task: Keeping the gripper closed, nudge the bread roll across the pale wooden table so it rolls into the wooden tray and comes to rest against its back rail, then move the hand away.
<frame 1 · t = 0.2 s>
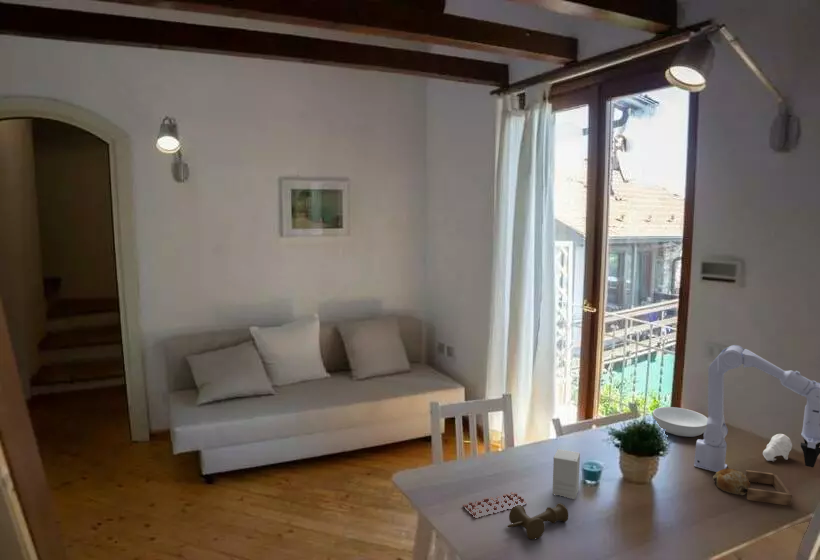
hand: (810, 462, 179), 10 cm above the table, tool pointing down, fingers open, 7 cm apart
bread roll: (730, 488, 182), on the table
supplement box: (565, 492, 178), on the table
kendama: (536, 528, 158), on the table
white lumpy piece: (774, 459, 204), on the table
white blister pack: (495, 508, 170), on the table
wooden tray: (761, 491, 180), on the table
serving bowl: (679, 432, 227), on the table
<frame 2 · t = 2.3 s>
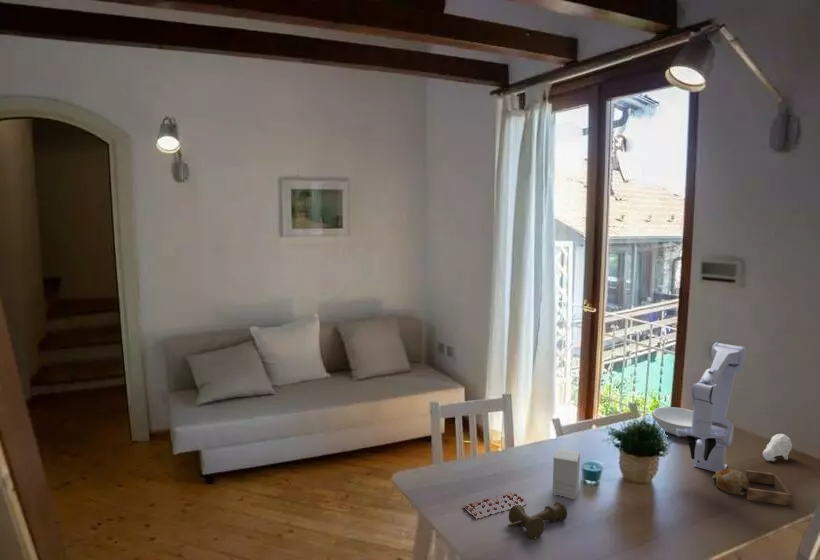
hand: (698, 458, 184), 8 cm above the table, tool pointing down, fingers open, 3 cm apart
nothing on the table moved.
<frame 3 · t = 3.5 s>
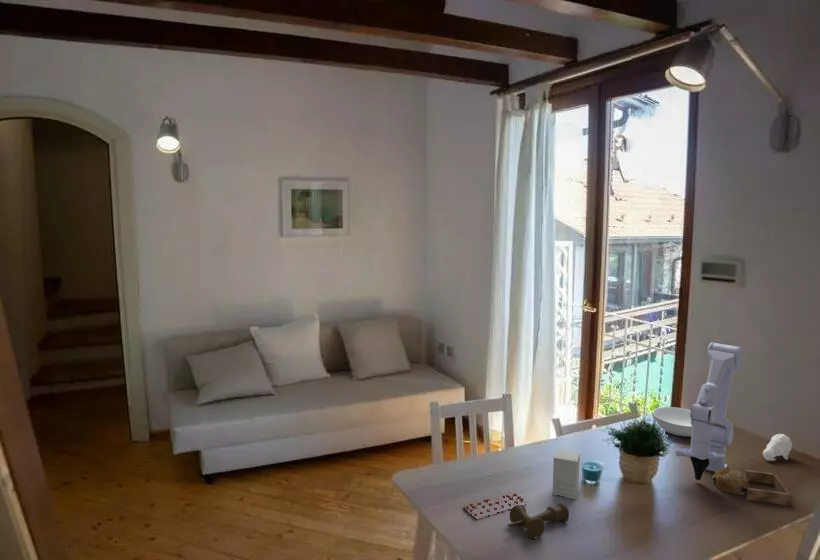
hand: (697, 478, 185), 1 cm above the table, tool pointing down, fingers closed
nothing on the table moved.
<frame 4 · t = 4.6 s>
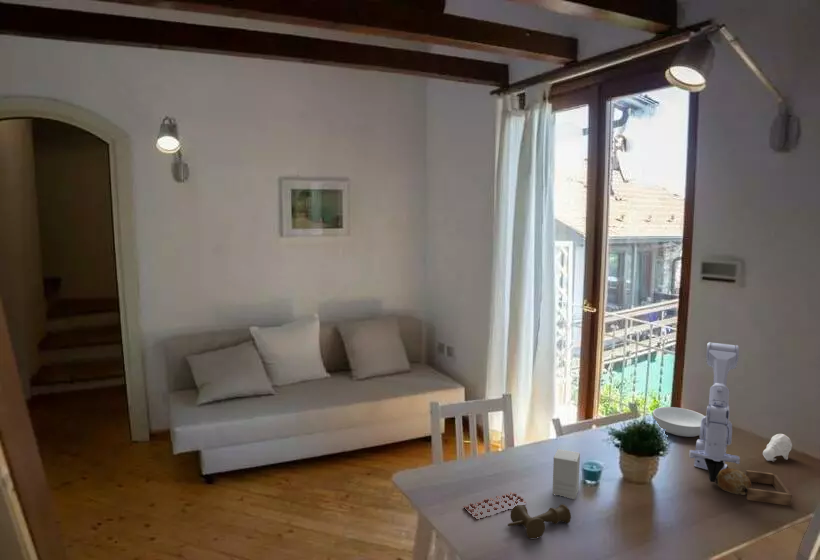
hand: (712, 480, 184), 1 cm above the table, tool pointing down, fingers closed
bread roll: (731, 488, 182), on the table, touching gripper
everything else where it was.
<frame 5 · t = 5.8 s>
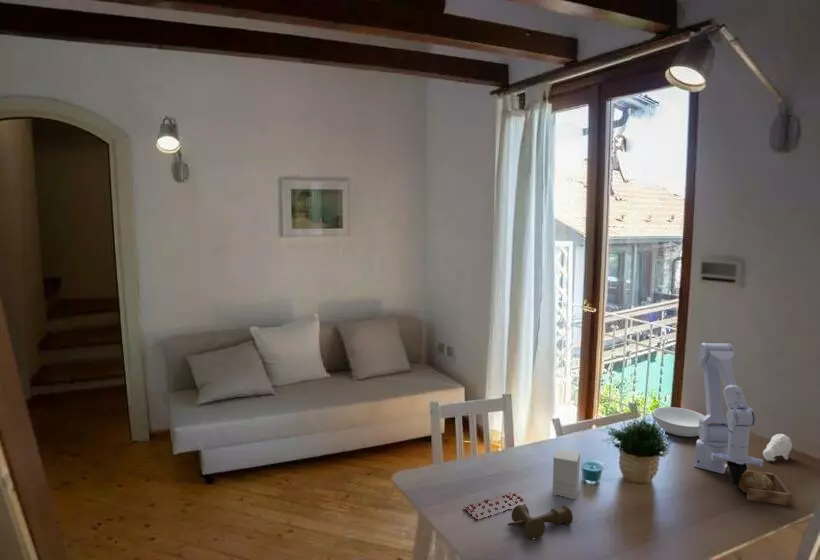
hand: (734, 483, 182), 1 cm above the table, tool pointing down, fingers closed
bread roll: (753, 491, 180), on the table, touching gripper
everything else where it was.
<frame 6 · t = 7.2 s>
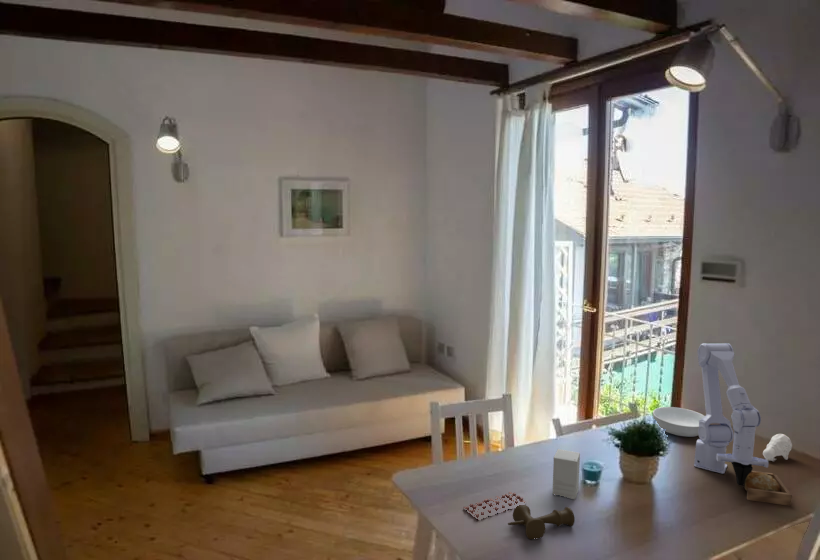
hand: (739, 484, 181), 1 cm above the table, tool pointing down, fingers closed
bread roll: (759, 492, 180), on the table
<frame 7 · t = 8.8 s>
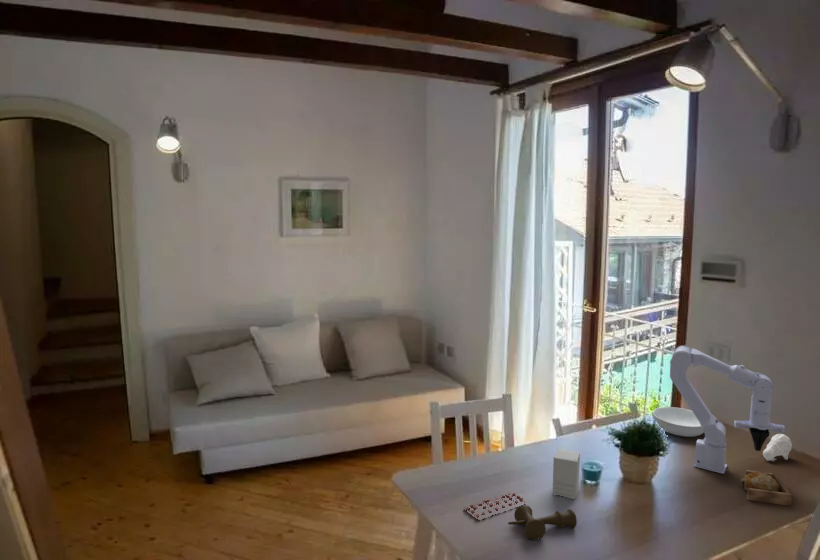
hand: (757, 449, 189), 9 cm above the table, tool pointing down, fingers closed
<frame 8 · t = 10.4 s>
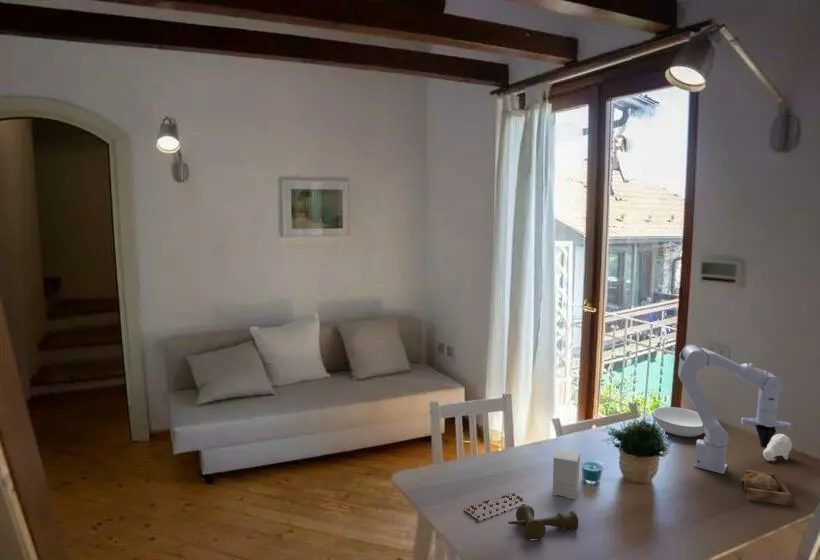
hand: (763, 446, 192), 9 cm above the table, tool pointing down, fingers closed
at the end: bread roll 0.6 cm off-centre on the wooden tray, point 0.0 cm above the wooden tray's base; bread roll moved 8.2 cm from its start; the gripper is holding nothing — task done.
